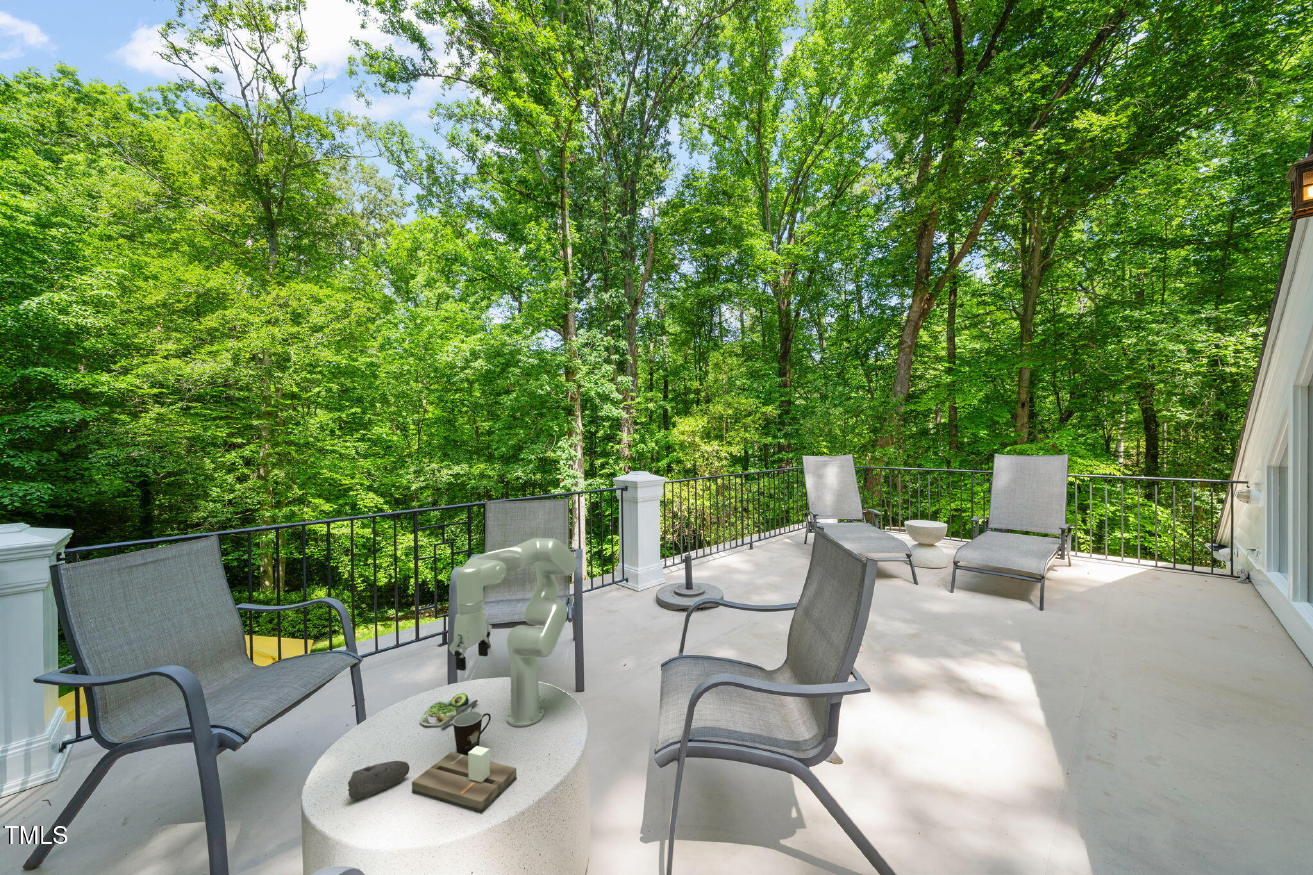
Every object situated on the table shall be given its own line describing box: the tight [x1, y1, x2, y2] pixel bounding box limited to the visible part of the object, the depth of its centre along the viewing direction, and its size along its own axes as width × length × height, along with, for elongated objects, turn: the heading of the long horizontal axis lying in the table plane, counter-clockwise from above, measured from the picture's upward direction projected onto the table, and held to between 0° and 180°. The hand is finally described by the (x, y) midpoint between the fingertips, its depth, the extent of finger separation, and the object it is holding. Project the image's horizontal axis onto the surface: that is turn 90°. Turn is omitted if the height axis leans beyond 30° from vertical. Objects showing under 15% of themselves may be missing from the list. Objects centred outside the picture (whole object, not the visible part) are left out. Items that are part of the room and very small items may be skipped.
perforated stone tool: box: [347, 760, 411, 801], centre depth 131 cm, size 15×5×7 cm, turn 125°
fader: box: [468, 745, 491, 782], centre depth 130 cm, size 3×4×9 cm
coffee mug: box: [452, 710, 492, 756], centre depth 148 cm, size 12×9×10 cm
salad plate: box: [419, 692, 479, 728], centre depth 168 cm, size 19×18×5 cm
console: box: [411, 751, 517, 814], centre depth 131 cm, size 14×24×3 cm, turn 69°
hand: (472, 662), depth 144 cm, fingers open, 9 cm apart
